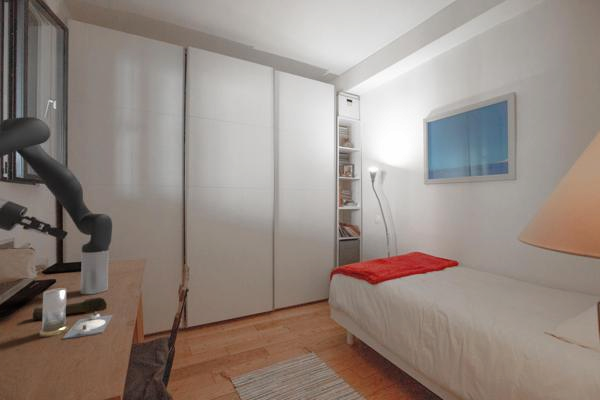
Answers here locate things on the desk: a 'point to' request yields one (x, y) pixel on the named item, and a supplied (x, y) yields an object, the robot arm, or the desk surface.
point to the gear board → (89, 326)
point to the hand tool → (77, 307)
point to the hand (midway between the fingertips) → (65, 236)
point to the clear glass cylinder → (54, 312)
